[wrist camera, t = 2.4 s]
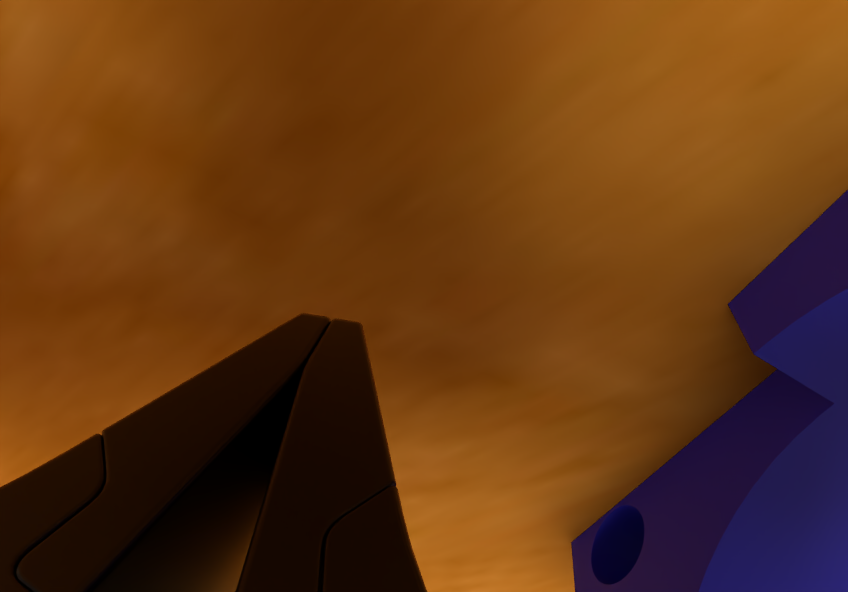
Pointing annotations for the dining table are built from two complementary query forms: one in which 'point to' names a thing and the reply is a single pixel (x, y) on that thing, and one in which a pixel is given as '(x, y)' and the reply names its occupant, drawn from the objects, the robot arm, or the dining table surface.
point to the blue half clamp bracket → (753, 454)
